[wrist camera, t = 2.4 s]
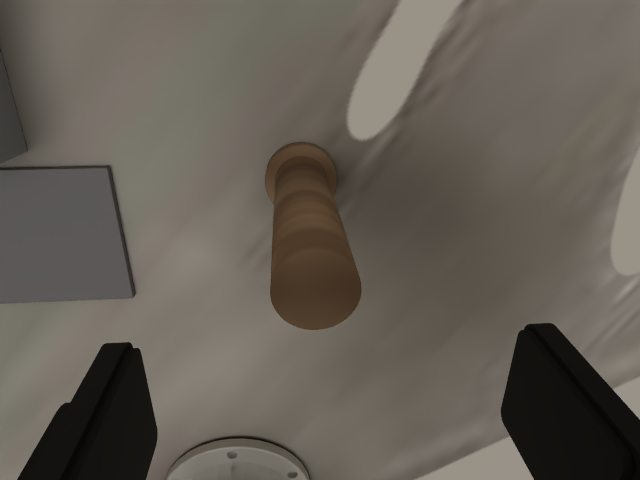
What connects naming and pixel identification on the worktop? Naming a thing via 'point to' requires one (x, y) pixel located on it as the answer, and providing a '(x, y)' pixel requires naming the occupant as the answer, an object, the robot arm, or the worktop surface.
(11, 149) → the square socket block
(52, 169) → the rubber mat
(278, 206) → the wooden pepper mill
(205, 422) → the worktop surface
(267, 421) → the worktop surface
